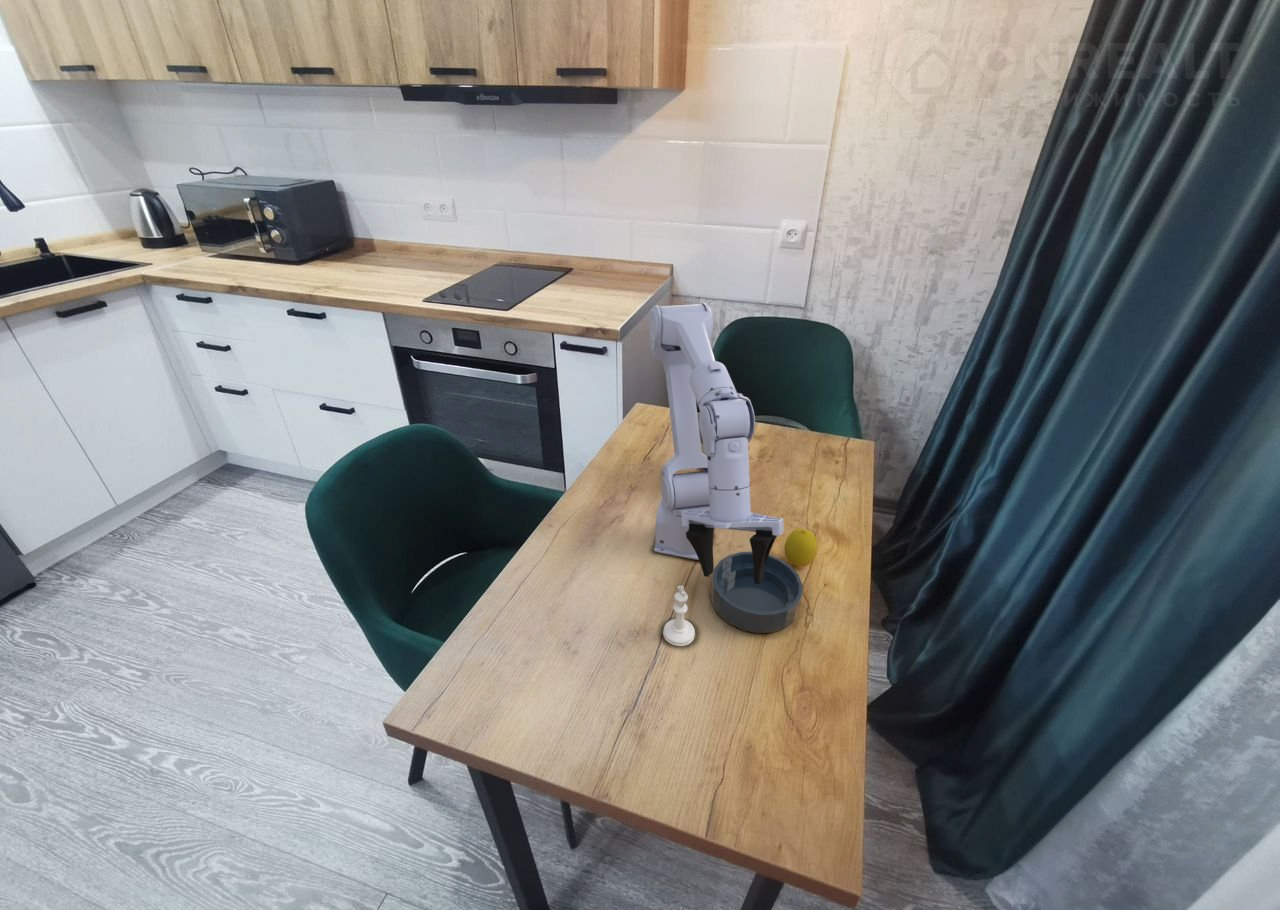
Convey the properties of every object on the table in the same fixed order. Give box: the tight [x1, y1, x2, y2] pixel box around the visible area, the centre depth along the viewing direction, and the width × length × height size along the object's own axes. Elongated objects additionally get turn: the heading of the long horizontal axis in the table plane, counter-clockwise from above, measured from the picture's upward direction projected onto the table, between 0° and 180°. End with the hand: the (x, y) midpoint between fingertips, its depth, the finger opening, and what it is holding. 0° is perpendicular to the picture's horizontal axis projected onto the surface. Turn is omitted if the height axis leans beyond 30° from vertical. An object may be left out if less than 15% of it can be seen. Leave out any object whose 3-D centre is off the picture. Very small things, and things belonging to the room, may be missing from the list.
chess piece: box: [662, 585, 696, 647], centre depth 85 cm, size 5×5×10 cm
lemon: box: [783, 528, 818, 568], centre depth 99 cm, size 6×6×8 cm
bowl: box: [710, 551, 804, 634], centre depth 92 cm, size 14×14×5 cm
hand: (733, 577), depth 81 cm, fingers open, 7 cm apart
